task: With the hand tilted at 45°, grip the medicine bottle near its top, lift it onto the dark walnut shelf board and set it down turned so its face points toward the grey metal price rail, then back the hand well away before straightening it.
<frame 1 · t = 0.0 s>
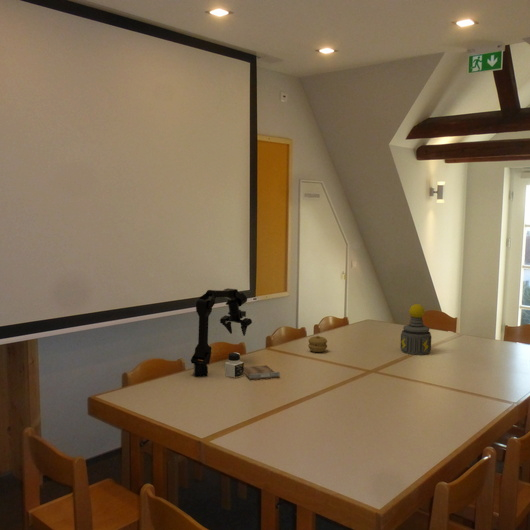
hand: (237, 334, 329), 15 cm above the table, tool pointing down, fingers open, 9 cm apart
shelf board: (258, 373, 305), on the table
medicine bottle: (234, 376, 301), on the table
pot: (317, 351, 355), on the table
price rail: (264, 378, 296), resting on shelf board
decorative lamp: (415, 352, 357), on the table
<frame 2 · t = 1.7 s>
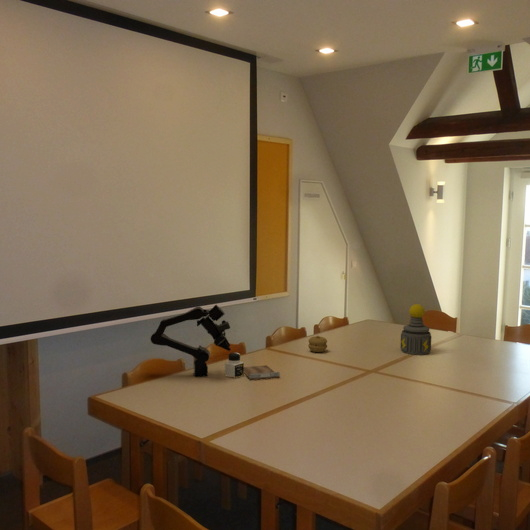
hand: (229, 348, 301), 14 cm above the table, tool tilted 40°, fingers open, 9 cm apart
nothing on the table moved.
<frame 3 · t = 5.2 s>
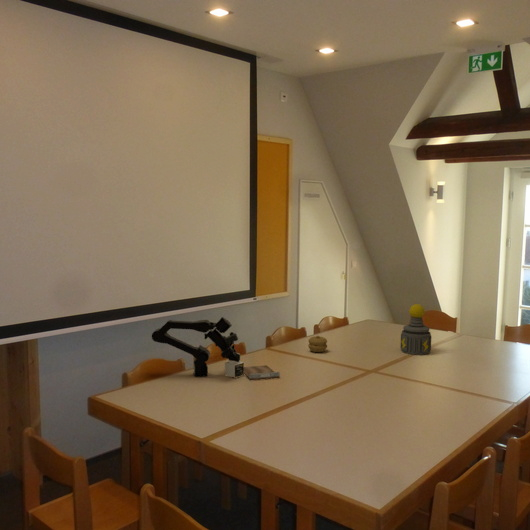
hand: (239, 359, 301), 8 cm above the table, tool tilted 45°, fingers closed on medicine bottle, 6 cm apart
medicine bottle: (234, 376, 301), on the table, touching gripper
everything else where it was.
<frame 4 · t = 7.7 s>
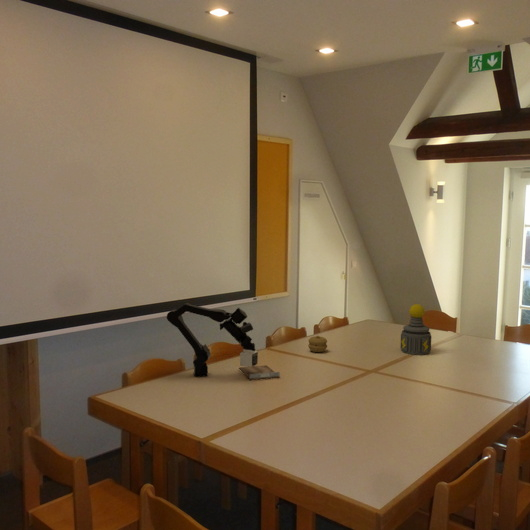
hand: (253, 349, 302), 14 cm above the table, tool tilted 45°, fingers closed on medicine bottle, 6 cm apart
medicine bottle: (248, 365, 302), point 5 cm above the table, touching gripper
everything else where it was.
when the fingers open (10 cm above the table, at t = 9.7 s): medicine bottle stays where it is, resting on shelf board.
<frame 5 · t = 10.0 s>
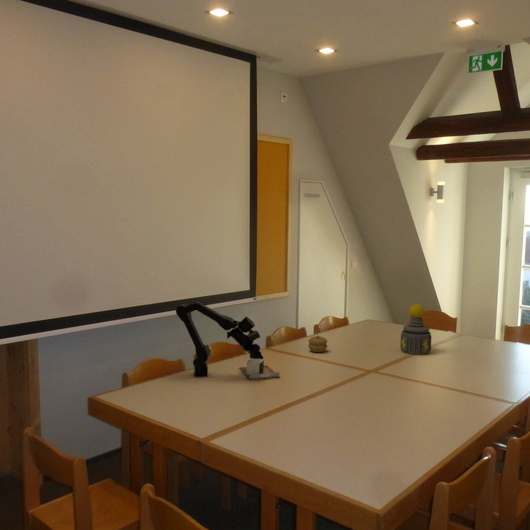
hand: (260, 356, 302), 10 cm above the table, tool tilted 45°, fingers open, 8 cm apart
medicine bottle: (255, 373, 302), point 1 cm above the table, touching shelf board
everything else where it was.
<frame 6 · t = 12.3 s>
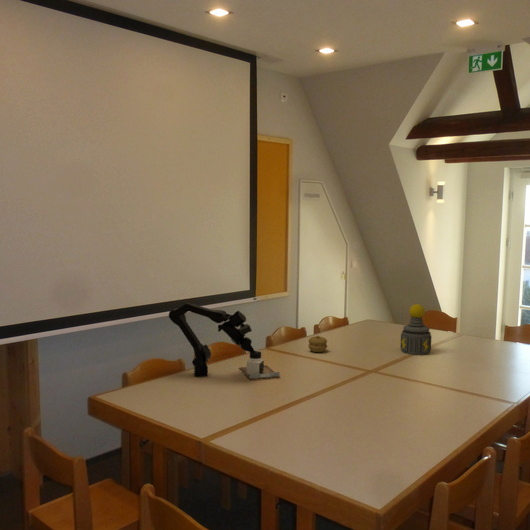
hand: (251, 350, 300), 13 cm above the table, tool tilted 45°, fingers open, 9 cm apart
nothing on the table moved.
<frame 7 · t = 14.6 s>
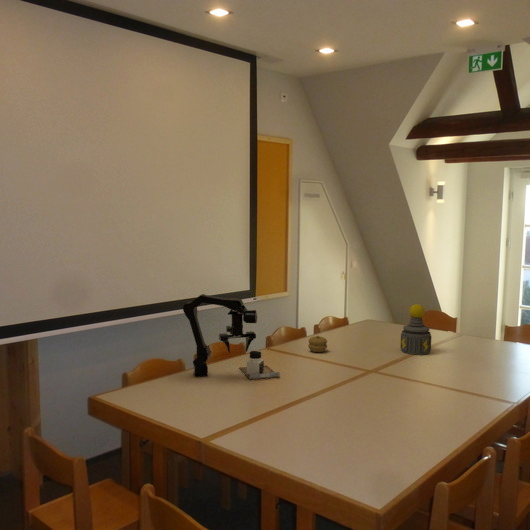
hand: (237, 352, 297), 13 cm above the table, tool pointing down, fingers open, 9 cm apart
nothing on the table moved.
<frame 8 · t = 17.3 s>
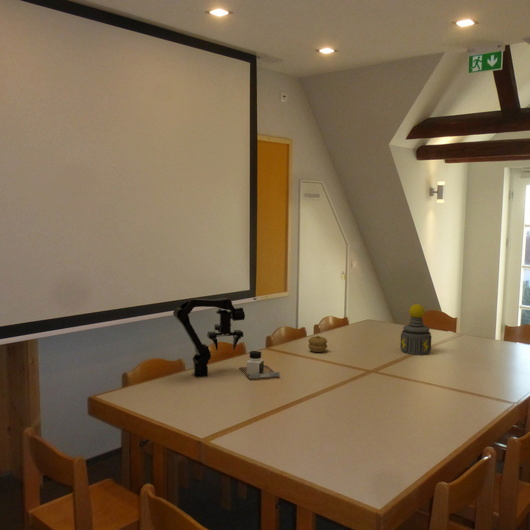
hand: (225, 350, 307), 12 cm above the table, tool pointing down, fingers open, 9 cm apart
nothing on the table moved.
at the end: medicine bottle inside the target area (1.2 cm from its centre), point 0.8 cm above the table; medicine bottle tilted 0°; the gripper is holding nothing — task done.
